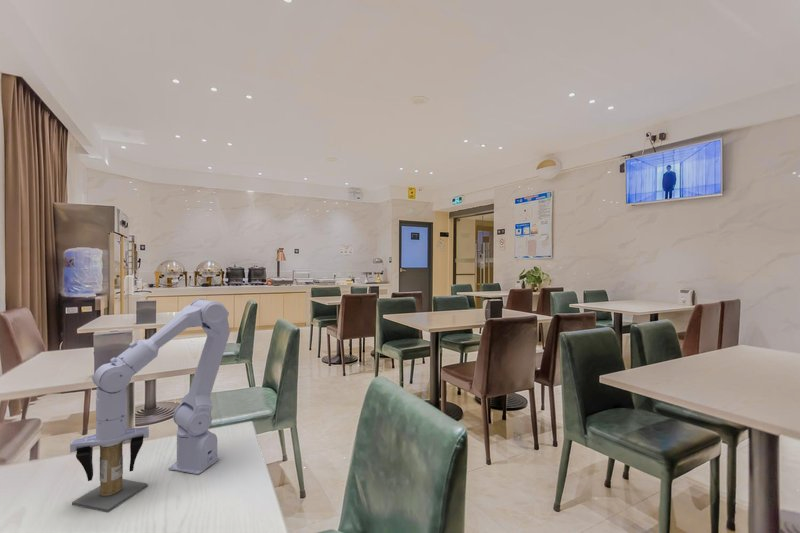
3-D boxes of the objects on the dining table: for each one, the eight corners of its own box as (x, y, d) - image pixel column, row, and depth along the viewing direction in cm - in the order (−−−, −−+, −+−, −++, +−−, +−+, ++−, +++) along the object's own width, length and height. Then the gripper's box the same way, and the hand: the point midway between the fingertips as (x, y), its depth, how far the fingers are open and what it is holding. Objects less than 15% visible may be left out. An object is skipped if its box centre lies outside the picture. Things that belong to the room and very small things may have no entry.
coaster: (147, 485, 94) (147, 483, 94) (108, 512, 84) (108, 509, 84) (114, 479, 96) (114, 477, 96) (72, 504, 86) (72, 502, 86)
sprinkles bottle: (123, 492, 90) (123, 435, 90) (98, 499, 87) (98, 440, 87) (123, 483, 94) (123, 428, 93) (99, 489, 91) (99, 433, 91)
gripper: (149, 404, 97) (148, 457, 97) (74, 416, 89) (74, 474, 89) (148, 414, 91) (148, 471, 91) (68, 427, 83) (68, 490, 84)
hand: (111, 473), depth 90 cm, fingers open, 7 cm apart
